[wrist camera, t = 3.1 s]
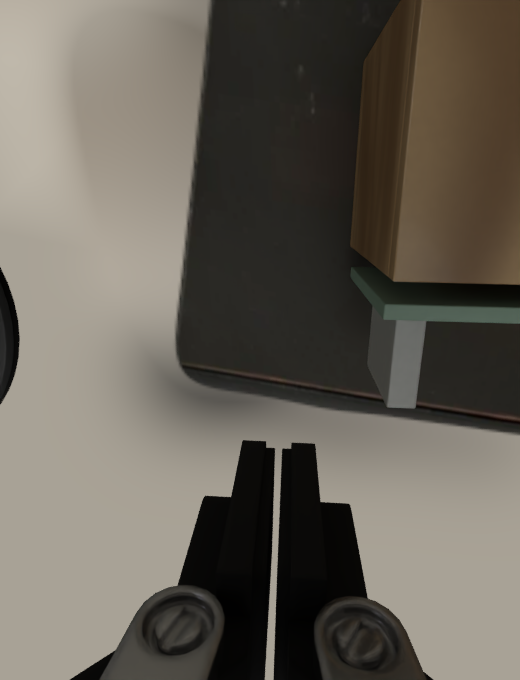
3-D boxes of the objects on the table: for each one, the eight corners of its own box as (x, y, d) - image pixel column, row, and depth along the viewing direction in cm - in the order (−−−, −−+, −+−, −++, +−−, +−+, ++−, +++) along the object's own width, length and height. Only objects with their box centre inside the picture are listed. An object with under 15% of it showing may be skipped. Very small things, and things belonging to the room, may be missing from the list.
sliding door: (344, 352, 26) (372, 426, 18) (350, 266, 25) (384, 303, 17) (488, 356, 26) (585, 434, 18) (503, 270, 25) (617, 310, 16)
